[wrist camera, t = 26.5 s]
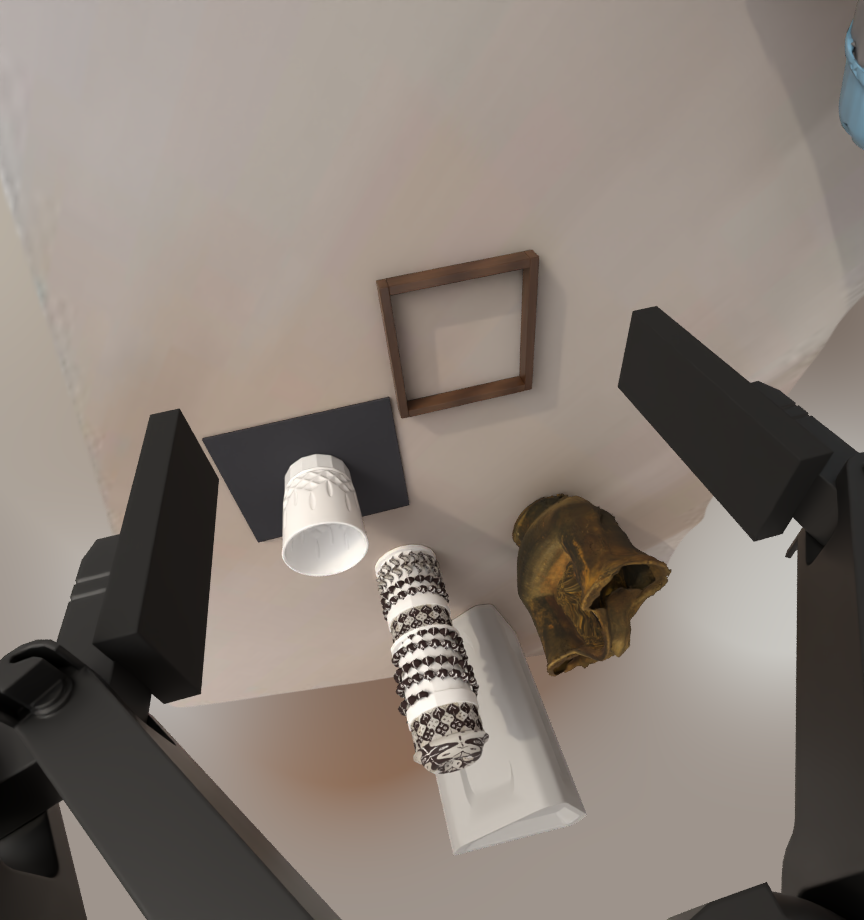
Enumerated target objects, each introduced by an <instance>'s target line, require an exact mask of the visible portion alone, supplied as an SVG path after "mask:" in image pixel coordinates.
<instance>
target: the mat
mask: <svg viewBox="0 0 864 920" xmlns="http://www.w3.org/2000/svg"><path fill="white" fill-rule="evenodd" d="M202 441H203V442H204V444H205V446H206V448H207V450H208V452H209V453H210V455H211V457H212V459H213V461H214V463H215V464H216V466H217V468H218V470H219V472H220V474H221V475H222V477H223V479H224V481H225V483H226V484H227V486H228V488H229V490H230V492H231V494H232V495H233V497H234V499H235V501H236V503H237V505H238V506H239V508H240V510H241V512H242V514H243V516H244V517H245V519H246V521H247V523H248V525H249V527H250V528H251V530H252V532H253V534H254V536H255V538H256V539H257V541H258V542H262V541H266V540H270V539H274V538H278V537H282V528H283V499H284V494H285V475H286V473H287V471H288V469H289V467H290V466H291V465H292V464H293V463H295V462H296V461H298V460H299V459H300V458H302V457H306V456H310V455H314V454H323V455H331V456H333V457H335V458H338V459H340V460H342V461H343V462H344V464H345V465H346V467H347V468H348V469H349V472H350V476H351V480H352V484H353V487H354V489H355V492H356V496H357V500H358V503H359V506H360V510H361V514H362V517H363V516H367V515H371V514H375V513H379V512H383V511H387V510H391V509H395V508H399V507H403V506H407V505H409V500H408V495H407V489H406V484H405V479H404V473H403V468H402V463H401V457H400V452H399V447H398V441H397V436H396V431H395V425H394V420H393V415H392V409H391V404H390V399H389V397H386V398H382V399H377V400H373V401H368V402H364V403H359V404H355V405H350V406H346V407H341V408H337V409H332V410H328V411H323V412H319V413H314V414H310V415H305V416H301V417H296V418H292V419H287V420H283V421H278V422H274V423H269V424H265V425H260V426H256V427H251V428H247V429H242V430H238V431H233V432H229V433H224V434H220V435H215V436H211V437H207V438H203V439H202Z"/></svg>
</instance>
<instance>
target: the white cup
mask: <svg viewBox="0 0 864 920" xmlns="http://www.w3.org/2000/svg"><path fill="white" fill-rule="evenodd" d="M368 546H369V543H368V538H367V534H366V530H365V526H364V522H363V518H362V514H361V510H360V506H359V503H358V500H357V496H356V492H355V489H354V487H353V484H352V480H351V476H350V472H349V469H348V468H347V467H346V465H345V464H344V462H343V461H342V460H340V459H338V458H335V457H333V456H331V455H323V454H314V455H310V456H306V457H302V458H300V459H299V460H298V461H296V462H295V463H293V464H292V465H291V466H290V467H289V469H288V471H287V473H286V475H285V494H284V499H283V528H282V557H283V560H284V562H285V564H286V565H287V566H288V567H289V568H290V569H292V570H293V571H295V572H297V573H300V574H303V575H308V576H329V575H334V574H338V573H341V572H344V571H346V570H348V569H350V568H352V567H353V566H355V565H356V564H358V563H359V562H360V561H361V560H362V559H363V558H364V556H365V555H366V553H367V550H368Z"/></svg>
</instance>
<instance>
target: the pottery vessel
mask: <svg viewBox="0 0 864 920" xmlns="http://www.w3.org/2000/svg"><path fill="white" fill-rule="evenodd" d="M512 536H513V541H514V542H515V543H516V545H517V546H518V547H520V548H519V553H518V559H517V587H518V594H519V597H520V599H521V600H522V602H523V604H524V605H525V606H526V608H527V609H528V611H529V613H530V615H531V617H532V619H533V622H534V624H535V627H536V629H537V632H538V634H539V637H540V639H541V642H542V645H543V648H544V652H545V655H546V659H547V663H548V664H547V672H548V673H549V675H551V676H556V675H559V674H560V673H562V672H565V673H566V672H568V671H570V670H572V669H573V668H575V667H576V666H582V667H584V668H586V667H588V665H589V664H592V663H595V662H597V661H603V660H606V659H608V658H610V657H611V656H614V655H616V656H617V657H620V656H621V655H622V654H623V653H624V652H625V651H626V649H627V648H628V647H629V646H630V634H631V626H630V620H631V618H632V617H633V616H634V615H635V614H636V612H637V611H638V609H639V608H640V606H641V605H642V604H643V602H644V601H645V600H646V599H647V598H649V597H650V596H653V595H654V594H655V593H656V592H657V591H659V590H660V589H661V588H662V587H663V586H665V584H666V583H667V582H668V579H667V578H668V577H666V576H669V574H670V573H671V569H670V570H669V569H668V567H667V566H666V565H667V564H665V563H664V562H661V561H659V560H657V559H656V558H654V557H652V556H649V555H647V554H646V553H644V552H642V551H640V550H638V549H637V548H635V547H634V546H633V545H632V543H631V542H630V540H629V539H628V537H627V535H626V534H625V533H624V532H623V531H622V530H621V528H620V527H619V526H618V523H617V522H616V521H615V517H614V516H612V515H611V514H610V513H608V512H607V511H605V510H603V509H600V508H599V507H595V506H594V505H593V504H591V503H590V502H589V501H587V500H585V499H583V498H581V497H579V496H573V497H568V495H564V494H561V495H560V494H557V496H556V497H553V496H551V497H547V498H544V497H543V498H541V499H539V500H537V501H535V502H534V503H533V504H531V505H530V506H528V507H527V508H526V509H525V510H524V511H523V512H522V513H521V514H520V516H519V518H518V519H517V521H516V523H515V525H514V530H513V533H512ZM594 613H595V614H594Z"/></svg>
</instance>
